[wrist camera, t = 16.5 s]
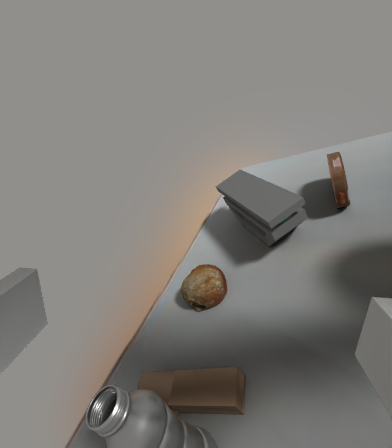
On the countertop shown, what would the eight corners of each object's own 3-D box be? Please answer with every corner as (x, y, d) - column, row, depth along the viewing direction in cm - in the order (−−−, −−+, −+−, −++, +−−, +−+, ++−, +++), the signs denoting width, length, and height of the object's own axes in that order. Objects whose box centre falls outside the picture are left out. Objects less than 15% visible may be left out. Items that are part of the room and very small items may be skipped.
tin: (331, 177, 65) (322, 148, 61) (345, 174, 63) (337, 143, 59) (337, 216, 54) (328, 184, 50) (355, 213, 53) (346, 179, 49)
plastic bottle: (172, 467, 36) (65, 413, 26) (204, 421, 38) (117, 355, 28) (200, 518, 30) (79, 474, 21) (235, 461, 33) (142, 397, 23)
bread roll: (194, 315, 59) (173, 311, 53) (192, 271, 64) (173, 262, 58) (234, 310, 54) (216, 304, 48) (229, 263, 59) (213, 252, 53)
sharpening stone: (319, 239, 52) (303, 197, 47) (287, 262, 52) (268, 222, 47) (255, 201, 74) (239, 169, 69) (233, 217, 74) (215, 186, 69)
